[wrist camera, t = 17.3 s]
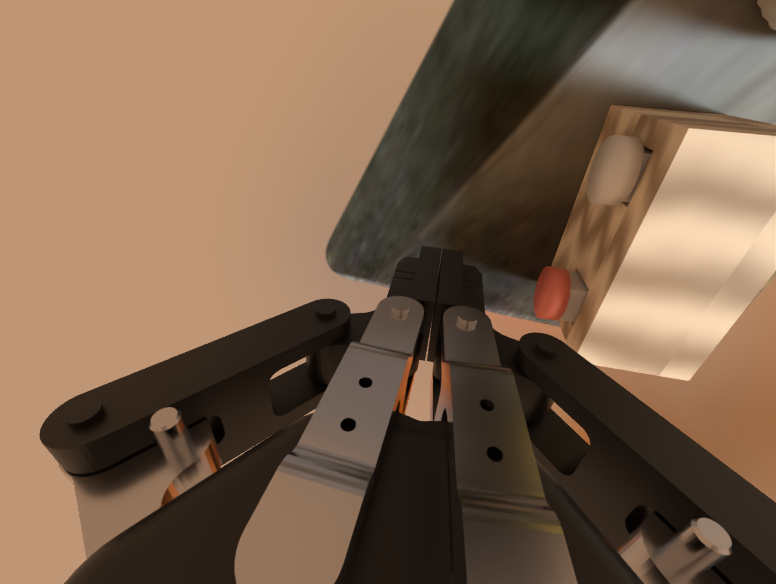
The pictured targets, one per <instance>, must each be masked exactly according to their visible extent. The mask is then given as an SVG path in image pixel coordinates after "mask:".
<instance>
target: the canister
mask: <svg viewBox="0 0 776 584" xmlns="http://www.w3.org/2000/svg"><path fill="white" fill-rule="evenodd" d="M757 4H758V6H760V8H761V10H762V17H763V18H764V19H766V20H767V21H768V24H769V26H770V28H771V29H773V30H776V0H758V1H757Z"/></svg>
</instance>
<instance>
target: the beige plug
mask: <svg viewBox="0 0 776 584" xmlns="http://www.w3.org/2000/svg"><path fill="white" fill-rule="evenodd" d="M652 152H653V150H651V149H648V148H646V147H644V146H643V143H642V141H641V139H640V138H638V137H632V136H621V135H611V136H609V137H608V138H607V139H606V140H605V141H604V142H603V143H602V145H601V146H600V148H599V149H598V151H597V153H596V155H595V157H594V160H593V162H592V165H591V168H590V171H589V175H588V181H587V197H588V200H589V201H590V202H591V203H595V204H603V205H612V206H616V205H618V204H620V203H621V202H628V203H629V202H630V200H631V198H632V196H633V194H634V192H635V189H636V187H637V185H638V183H639V181H640V178H641V176H642V174H643V172H644V170H645V168H646V165H647V163H648V161H649V159H650V157H651V155H652Z"/></svg>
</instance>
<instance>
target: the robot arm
mask: <svg viewBox="0 0 776 584" xmlns="http://www.w3.org/2000/svg"><path fill="white" fill-rule="evenodd" d="M440 256H441V248H434V247H427V246H422V248H421V252H420V257H419V258H412V257H405V258H404V259H402V260H401V261H400V262H398V265H397V268H396V272H395V274H394V278H393V280H392V283H391V286H390V289H389V292H388V295H387V298H385V299H383V300H382V301H381V302H380V303H379V304H378V306H377V308H376V310H374V311H371V312H367V313H354V314H351V313H350V309H349V307H348V306H347V305H346V304H345V303H343V302H341V301H339V300H335V299H320V300H316V301H313V302H310V303H308V304H305V305H303V306H300V307H298V308H295V309H293V310H290V311H288V312H285V313H283V314H280V315H278V316H275V317H273V318H270V319H268V320H265V321H263V322H260V323H258V324H255V325H253V326H250V327H248V328H245V329H243V330H240V331H238V332H235V333H233V334H230V335H228V336H225V337H223V338H220V339H218V340H215V341H213V342H210V343H208V344H205V345H203V346H200V347H198V348H195V349H193V350H190V351H188V352H185V353H183V354H180V355H178V356H175V357H173V358H170V359H168V360H165V361H163V362H160V363H158V364H155V365H153V366H150V367H148V368H145V369H143V370H140V371H138V372H135V373H133V374H130V375H128V376H125V377H123V378H120V379H118V380H115V381H113V382H110V383H108V384H105V385H103V386H100V387H98V388H95V389H93V390H90V391H88V392H85V393H83V394H80V395H78V396H76V397H74V398H72V399H70V400H68V401H67V402H65V403H64V404H62V405H61V406H59V407H58V408H57V409H55V411H53V412H52V413H51V414H50V415H49V416H48V418H47V419H46V420H45V422H44V423H43V425H42V427H41V429H40V440H41V442H42V443H43V444H44V446H45V447H46V448H47V449H48V451H49V452H50V453H51V454H52V455H53V456H54V458H55V459H56V460H57V461H58V463H59V467H60V469H61V471H62V472H63V473H64V474H65V475H66V477H67V478H68V479H69V480H70V481H71V483H72V484H73V485H74V486H75V492H76V498H77V504H78V510H79V516H80V521H81V527H82V533H83V540H84V546H85V551H86V557H87V560H86V561H85V562H84V563H83V564H82V565H81V566H80V567H79V568H78V569H76V570H75V572H74V573H73V574H72V575H71V576H70V577H69V579H68V580H67V581H66V582H65V583H64V584H776V503H775V502H774V501H773V500H772V499H770V498H769V497H768V496H766V495H765V494H764V493H762V492H761V491H759V490H758V489H757V488H755V487H754V486H753V485H752V484H750V483H749V482H748V481H746V480H745V479H744V478H742V477H741V476H740V475H738V474H737V473H736V472H734V471H733V470H731V468H729V467H728V466H727V465H725V464H724V463H722V462H721V461H720V460H719V459H717V458H716V457H714V456H713V455H712V454H711V453H709V452H708V451H707V450H705V449H704V448H703V447H701V446H700V445H699V444H697V443H696V442H695V441H693V440H692V439H691V438H689V437H688V436H687V435H686V434H684V433H683V432H681V431H680V430H679V429H678V428H676V427H675V426H674V425H672V424H671V423H670V422H668V421H667V420H666V419H664V418H663V417H662V416H660V415H659V414H658V413H656V412H655V411H654V410H652V409H651V408H650V407H648V406H647V405H646V404H644V403H643V402H642V401H640V400H639V399H638V398H636V397H635V396H634V395H633V394H631V393H630V392H629V391H627V390H626V389H625V388H623V387H622V386H621V385H619V384H618V383H617V382H615V381H614V380H613V379H611V378H610V377H609V376H607V375H606V374H605V373H603V372H602V371H601V370H599V369H598V368H597V367H595V366H594V365H593V364H592V363H590V362H589V361H588V360H586V359H585V358H584V357H582V356H581V355H580V354H578V353H577V352H576V351H574V350H573V349H572V348H570V347H569V346H568V345H566V344H565V343H564V342H562V341H561V340H559V339H557V338H555V337H553V336H550V335H548V334H543V333H528V334H525V335H523V336H522V337H521V339H520V341H517V340H515V339H512V338H509V337H507V336H504V335H502V334H500V333H499V332H497V331H496V330H494V329H493V328H492V324H491V320H490V319H489V317H488V316H487V315H486V314H485V308H484V296H483V284H482V274H481V273H480V272H479V270H478V269H477V268H476V267H475V266H468V265H463V251H456V250H449V249H443V251H442V257H441V263H440ZM439 264H440V269H439ZM438 272H439V275H438ZM437 280H438V281H437ZM431 322H432V325H431ZM430 328H431V333H430ZM429 334H430V341H429V349H428V358H427V361H430V362H434V365H433V372H432V377H431V394H430V395H431V396H430V397H431V398H430V400H431V401H430V421H418V420H416V419H413V418H411V417H409V416H406V415H405V411H406V408H407V404H408V400H409V396H410V392H411V388H412V384H413V381H414V375H415V372H416V371H417V368H418V364H419V360H424V361H425V357H426V351H427V345H428V339H429ZM304 357H306V362H305V363H303V364H301V365H299V366H297V367H295V368H293V369H291V370H289V371H287V372H285V373H283V374H282V375H279V376H277V377H275V378H274V379H272V380H270V378H271V377H272V375H274V374H275V373H276V372H277V371H279V370H280V369H282V368H284V367H286V366H288V365H290V364H292V363H294V362H296V361H298V360H300V359H302V358H304ZM269 380H270V381H269ZM553 402H555V403H556V404H557V405H559V407H561V408H562V409H563V410H564V411H565V412H566V413H567V414H568V415H569V416H571V418H572V419H574V420H575V421H576V422H577V423H578V424H579V425H580V426H581V427H582V428H583V429H584V430H585V431H586V433H587V435H588V437H589V439H590V445H588V443H586V442H585V441H584V440H583V439H582V438H581V437H580V436H579V435H578V434H577V433H576V432H575V431H574V430H573V429H572V428H571V427H570V426H569V425H568V424H567V423H565V422H564V421H563V420H562V419H561V418H560V417H559V416H558V415H557V414H556V413H555V412H554V411H553V410H552V409H551V406H552V404H553ZM314 409H316V410H315V412H314V413H312V414H309V415H306V414H307V413H309V412H311V411H312V410H314ZM304 415H306V416H304ZM274 433H275V434H274ZM271 435H272V436H271ZM267 437H268V438H267ZM266 438H267V439H266ZM263 440H264V441H263ZM261 441H262V442H261ZM260 442H261V443H260ZM258 443H259V444H258ZM256 444H258V445H256ZM255 445H256V446H255ZM253 446H255V447H253ZM251 447H253V448H252V449H250V448H251ZM248 449H250V450H248ZM246 450H248V451H247V452H245V451H246ZM243 452H245V453H244V454H242V455H241V456H239V457H238V458H236V459H234V460H233V461H232V462H230V463H228V464H227V465H225V466H224V467H222V468H221V465H223V464H225V463H226V462H228V461H230V460H231V459H233V458H235V457H237V456H238V455H240V454H241V453H243ZM220 468H221V469H220Z"/></svg>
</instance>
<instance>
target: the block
mask: <svg viewBox="0 0 776 584" xmlns="http://www.w3.org/2000/svg"><path fill="white" fill-rule="evenodd" d="M611 135H621V136H632V137H638V138H640V139H641V141H642V143H643V146H644V147H646V148H648V149H651V150H653V152H652V155H651V157H650V159H649V161H648V163H647V165H646V168H645V170H644V172H643V174H642V176H641V178H640V181H639V183H638V185H637V187H636V189H635V192H634V194H633V196H632V198H631V200H630V202H629V203H628V202H621V203H620V204H618V205H616V206H612V205H603V204H595V203H591V202H590V201H589V200H588V197H587V181H588V175H589V171H590V168H591V165H592V162H593V160H594V157H595V155H596V153H597V151H598V149H599V148H600V146H601V145H602V143H603V142H604V141H605V140H606V139H607V138H608V137H609V136H611ZM551 267H557V268H565V269H567V270H568V271H573V272H579V273H580V275H581V277H582V278H583V280H584V282H585V284H586V286H587V288H588V289H589V292H588V294H587V296H586V298H585V300H584V303H583V305H582V307H581V309H580V311H579V313H578V316H577V318H576V320H575V322H569V321H563V320H558V321H559V324H560V327H561V329H562V332H563V335H564V338H565V340H566V343H567V345H568V346H569V347H570V348H572V349H573V350H574V351H576V352H577V353H578V354H580V355H581V356H582V357H584V358H585V359H586V360H588V361H589V362H590V363H592V364H593V365H598V366H604V367H610V368H616V369H622V370H628V371H634V372H640V373H646V374H652V375H658V376H664V377H669V378H675V379H681V380H687V381H688V380H690V378H691V377H692V376H693V375H694V373H695V372H696V371H697V370H698V368H699V367H700V366H701V365H702V363H703V362H704V361H705V360H706V358H707V357H708V356H709V354H710V353H711V352H712V351H713V349H714V348H715V346H717V344H718V343H719V342H720V340H721V339H722V338H723V337H724V335H725V334H726V333H727V331H728V330H729V329H730V328H731V326H732V325H733V324H734V323H735V321H736V320H737V319H738V318H739V316H740V315H741V314H742V312H743V311H744V310H745V309H746V307H747V306H748V305H749V304H750V302H751V301H752V300H753V298H754V297H755V296H756V295H757V293H758V292H759V291H760V290H761V288H762V287H763V286H764V284H765V283H766V282H767V281H768V279H769V278H770V277H771V276H772V274H773V273H774V272H775V270H776V125H773V124H769V123H764V122H759V121H754V120H749V119H744V118H739V117H734V116H730V115H722V114H710V113H699V112H687V111H676V110H664V109H652V108H641V107H629V106H618V105H611V106H610V109H609V112H608V114H607V117H606V120H605V122H604V125H603V128H602V130H601V133H600V136H599V139H598V141H597V144H596V147H595V149H594V152H593V155H592V157H591V160H590V163H589V166H588V168H587V171H586V174H585V176H584V179H583V182H582V184H581V187H580V190H579V193H578V195H577V198H576V201H575V203H574V206H573V209H572V211H571V214H570V217H569V220H568V222H567V225H566V228H565V230H564V233H563V236H562V238H561V241H560V244H559V247H558V249H557V252H556V255H555V257H554V260H553V263H552V265H551Z"/></svg>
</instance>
